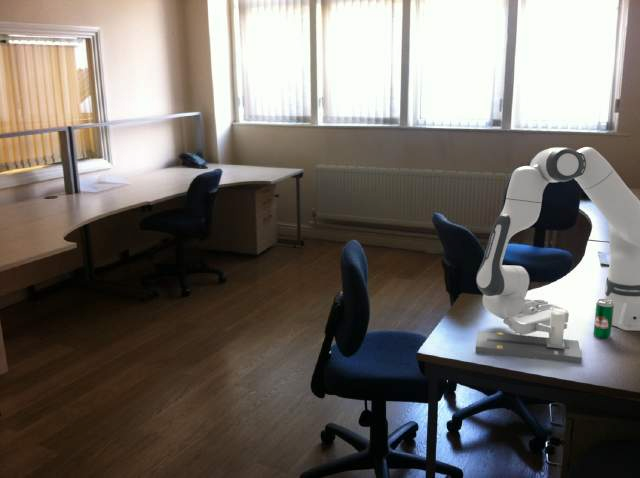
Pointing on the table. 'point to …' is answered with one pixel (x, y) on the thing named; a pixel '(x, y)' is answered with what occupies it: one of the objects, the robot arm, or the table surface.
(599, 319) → the soda can
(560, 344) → the fader knob
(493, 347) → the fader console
